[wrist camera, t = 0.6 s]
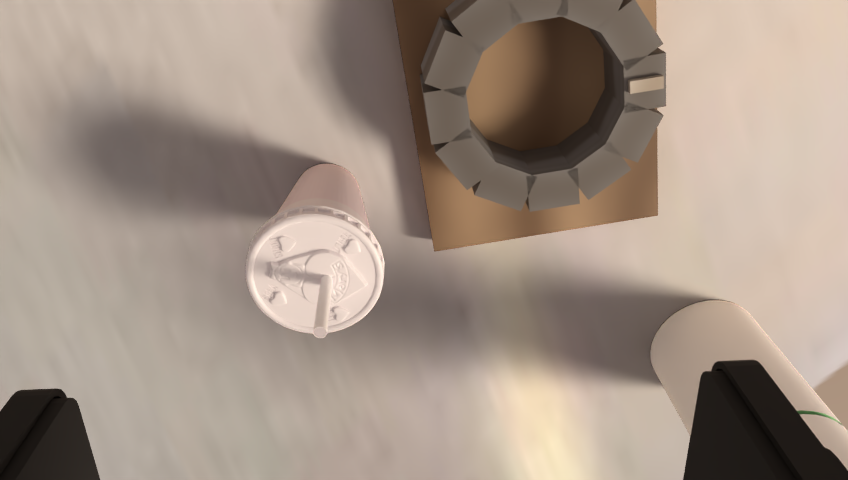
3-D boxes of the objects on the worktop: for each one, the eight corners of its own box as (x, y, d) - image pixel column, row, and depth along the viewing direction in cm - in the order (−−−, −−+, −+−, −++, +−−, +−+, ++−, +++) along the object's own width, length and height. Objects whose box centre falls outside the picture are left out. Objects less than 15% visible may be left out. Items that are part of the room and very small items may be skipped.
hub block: (432, 239, 44) (439, 284, 39) (378, -87, 36) (378, -80, 31) (649, 204, 43) (682, 245, 39) (644, -132, 35) (685, -133, 31)
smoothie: (373, 251, 44) (371, 402, 31) (265, 234, 43) (218, 383, 30) (392, 151, 41) (399, 274, 29) (277, 131, 40) (232, 248, 28)
